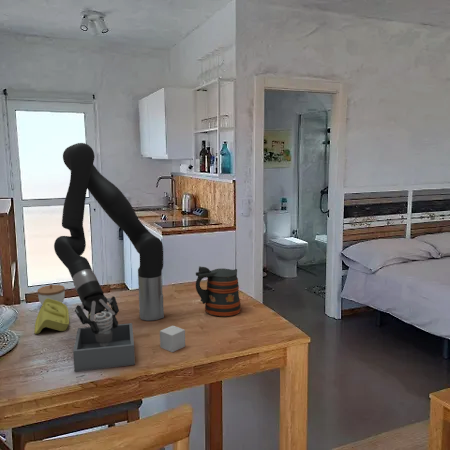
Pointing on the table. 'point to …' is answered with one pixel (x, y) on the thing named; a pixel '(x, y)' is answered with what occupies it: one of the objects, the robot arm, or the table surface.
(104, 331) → the light bulb
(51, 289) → the lidded jar
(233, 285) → the beer stein
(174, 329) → the light grey cube
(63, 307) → the plastic component
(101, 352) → the bin
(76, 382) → the table surface
